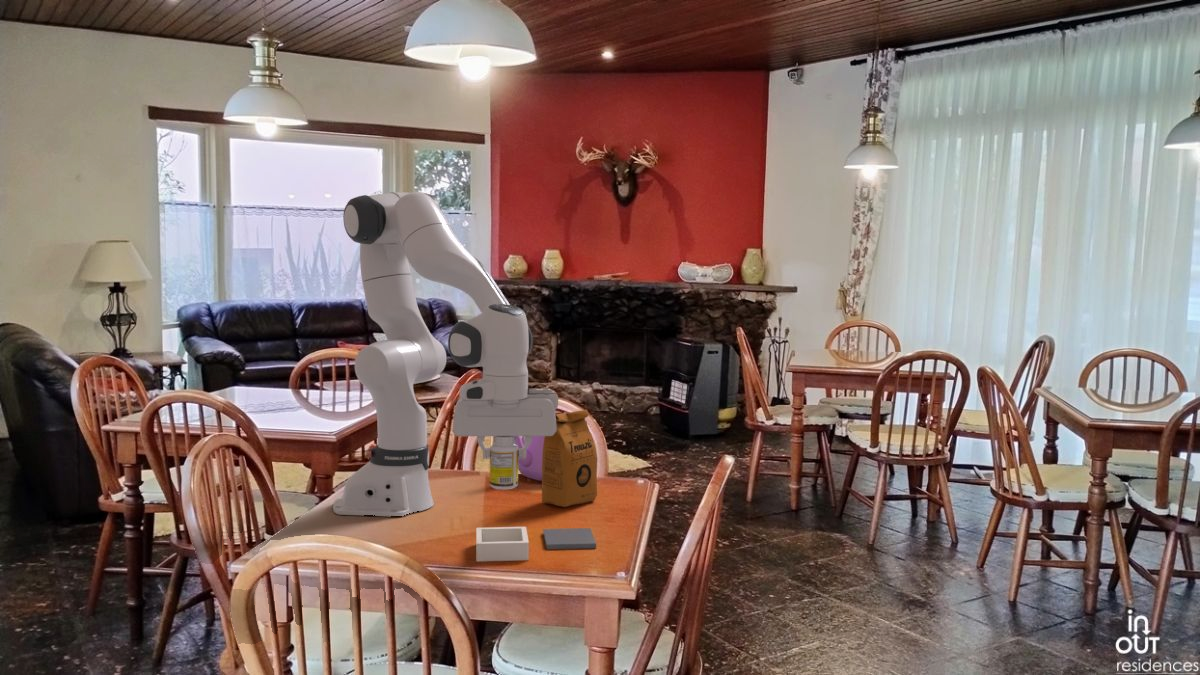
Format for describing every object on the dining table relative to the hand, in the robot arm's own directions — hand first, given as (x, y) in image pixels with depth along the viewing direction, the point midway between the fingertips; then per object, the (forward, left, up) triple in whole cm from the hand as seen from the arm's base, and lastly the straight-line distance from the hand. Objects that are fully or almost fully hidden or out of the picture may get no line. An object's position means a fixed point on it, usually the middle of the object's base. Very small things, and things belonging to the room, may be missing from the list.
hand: (504, 458), depth 177 cm
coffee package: (+17, +34, -19) cm, 42 cm away
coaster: (+14, +6, -19) cm, 24 cm away
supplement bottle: (0, 0, -6) cm, 6 cm away
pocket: (0, 0, -19) cm, 19 cm away
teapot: (+14, +58, -19) cm, 62 cm away
